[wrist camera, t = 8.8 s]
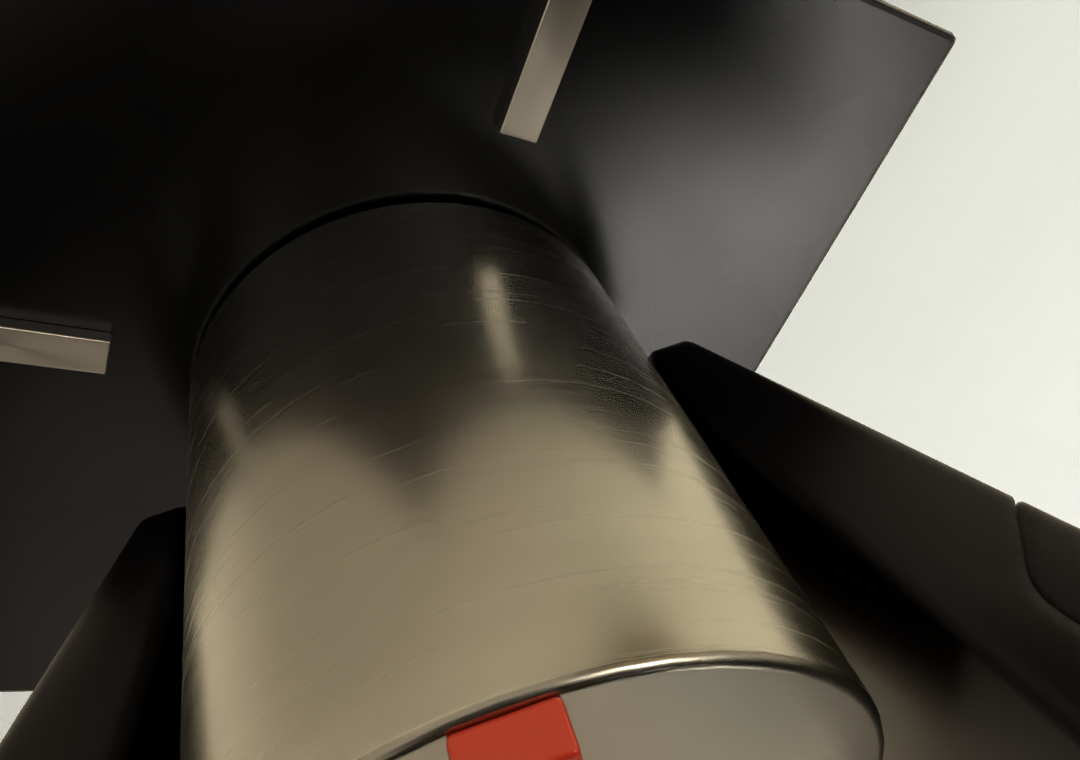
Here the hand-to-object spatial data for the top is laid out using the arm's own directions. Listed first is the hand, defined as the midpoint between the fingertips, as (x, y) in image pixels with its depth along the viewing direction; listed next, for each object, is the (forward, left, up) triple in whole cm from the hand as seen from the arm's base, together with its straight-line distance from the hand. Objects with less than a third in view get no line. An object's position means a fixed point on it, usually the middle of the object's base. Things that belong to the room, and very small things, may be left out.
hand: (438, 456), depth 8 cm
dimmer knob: (0, 0, -1) cm, 1 cm away
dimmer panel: (0, 0, -4) cm, 4 cm away
